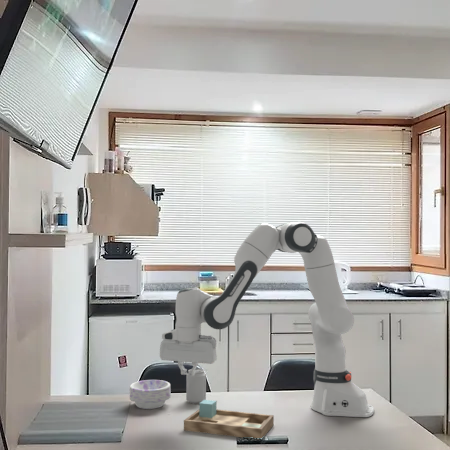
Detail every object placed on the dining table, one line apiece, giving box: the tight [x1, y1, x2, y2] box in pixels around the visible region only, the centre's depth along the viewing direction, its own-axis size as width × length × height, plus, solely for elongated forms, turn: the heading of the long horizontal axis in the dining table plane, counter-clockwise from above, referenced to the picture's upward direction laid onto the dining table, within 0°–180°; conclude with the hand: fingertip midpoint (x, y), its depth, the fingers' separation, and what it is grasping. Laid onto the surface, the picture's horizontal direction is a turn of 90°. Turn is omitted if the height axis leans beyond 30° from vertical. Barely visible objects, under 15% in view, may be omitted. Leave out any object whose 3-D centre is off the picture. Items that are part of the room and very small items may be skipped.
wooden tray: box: [183, 408, 275, 438], centre depth 183 cm, size 26×15×3 cm, turn 71°
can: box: [185, 368, 207, 405], centre depth 214 cm, size 8×8×12 cm
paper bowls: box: [129, 379, 172, 410], centre depth 209 cm, size 15×15×8 cm
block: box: [198, 399, 217, 418], centre depth 190 cm, size 4×4×4 cm
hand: (187, 374), depth 193 cm, fingers closed
